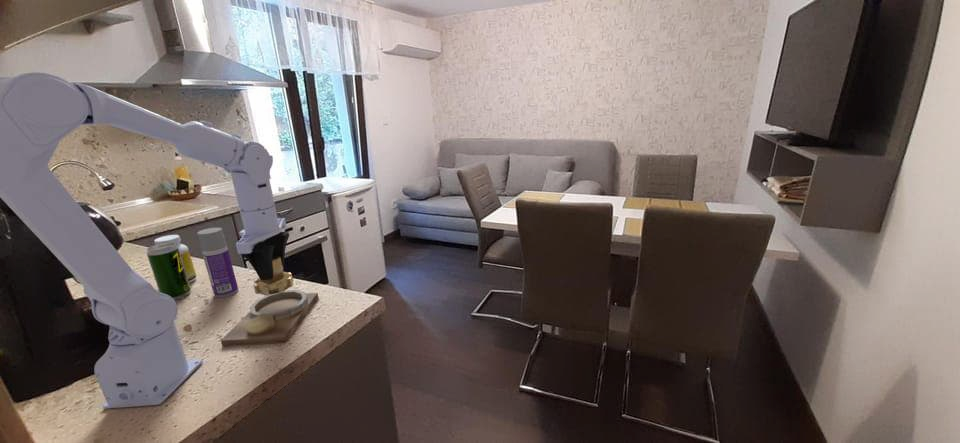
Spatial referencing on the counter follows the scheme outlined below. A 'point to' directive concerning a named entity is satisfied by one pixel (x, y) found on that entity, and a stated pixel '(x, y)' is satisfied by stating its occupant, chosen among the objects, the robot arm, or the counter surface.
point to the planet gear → (274, 280)
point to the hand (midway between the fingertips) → (272, 273)
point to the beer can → (168, 270)
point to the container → (218, 262)
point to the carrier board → (280, 324)
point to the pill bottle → (183, 252)
